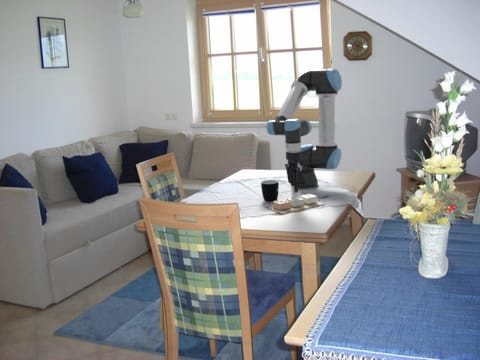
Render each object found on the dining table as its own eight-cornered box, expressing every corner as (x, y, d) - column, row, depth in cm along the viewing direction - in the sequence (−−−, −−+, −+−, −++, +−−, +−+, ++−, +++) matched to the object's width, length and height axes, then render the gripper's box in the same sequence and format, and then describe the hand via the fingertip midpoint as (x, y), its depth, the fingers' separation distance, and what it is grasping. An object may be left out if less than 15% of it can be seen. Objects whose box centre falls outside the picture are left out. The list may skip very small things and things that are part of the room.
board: (308, 199, 290) (308, 198, 290) (324, 204, 278) (324, 203, 278) (266, 207, 279) (266, 206, 279) (281, 214, 267) (281, 213, 267)
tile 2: (297, 202, 282) (296, 196, 282) (303, 204, 277) (303, 198, 276) (287, 204, 280) (286, 198, 279) (293, 207, 274) (293, 200, 274)
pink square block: (283, 205, 279) (283, 199, 278) (290, 207, 274) (290, 201, 273) (273, 207, 276) (273, 201, 275) (279, 210, 271) (279, 203, 270)
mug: (279, 202, 287) (278, 183, 285) (262, 203, 287) (261, 184, 285) (278, 196, 299) (277, 178, 296) (261, 197, 299) (260, 178, 297)
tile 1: (310, 199, 286) (310, 193, 285) (317, 202, 281) (316, 195, 280) (300, 201, 283) (300, 195, 283) (307, 204, 278) (307, 197, 277)
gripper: (279, 150, 276) (281, 196, 281) (294, 153, 265) (296, 202, 270) (292, 148, 280) (294, 194, 285) (307, 151, 268) (308, 199, 274)
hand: (295, 198), depth 277 cm, fingers closed
